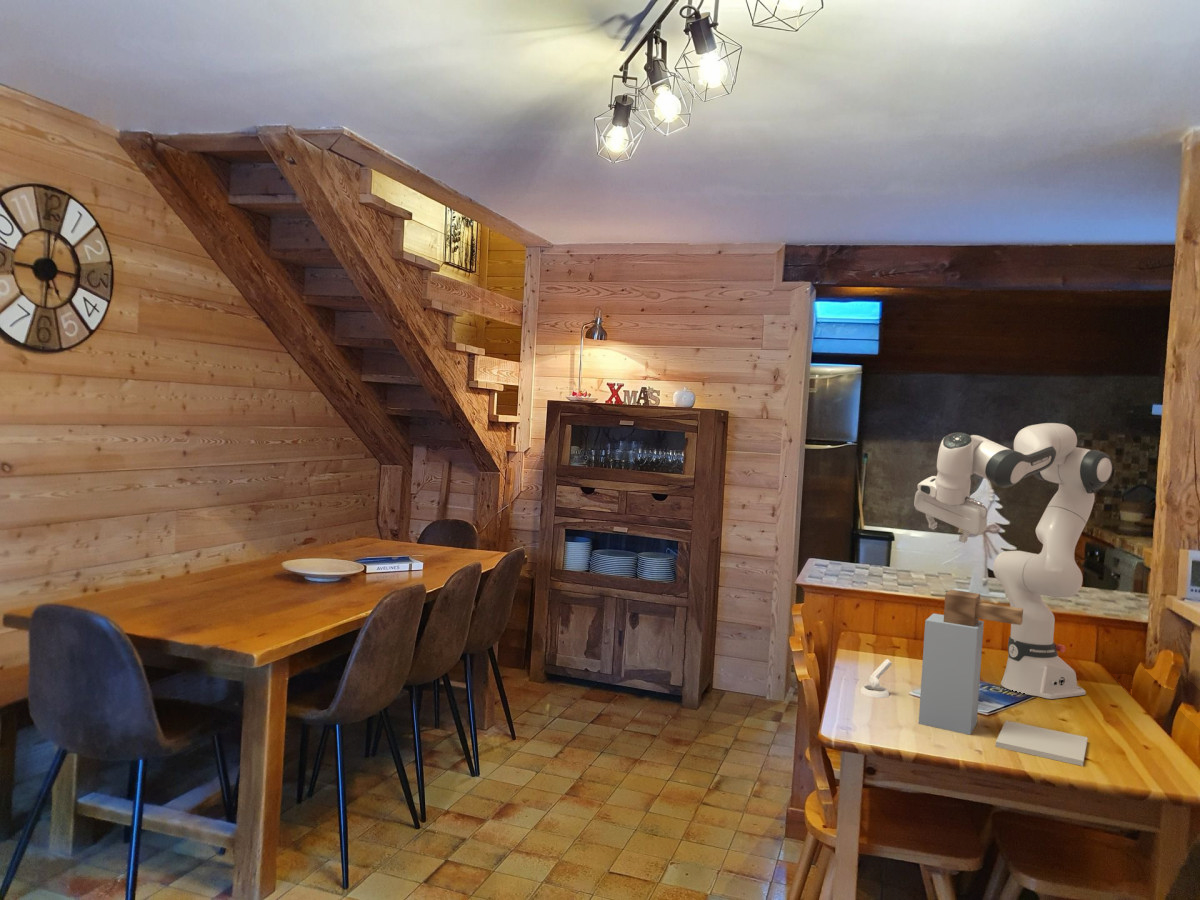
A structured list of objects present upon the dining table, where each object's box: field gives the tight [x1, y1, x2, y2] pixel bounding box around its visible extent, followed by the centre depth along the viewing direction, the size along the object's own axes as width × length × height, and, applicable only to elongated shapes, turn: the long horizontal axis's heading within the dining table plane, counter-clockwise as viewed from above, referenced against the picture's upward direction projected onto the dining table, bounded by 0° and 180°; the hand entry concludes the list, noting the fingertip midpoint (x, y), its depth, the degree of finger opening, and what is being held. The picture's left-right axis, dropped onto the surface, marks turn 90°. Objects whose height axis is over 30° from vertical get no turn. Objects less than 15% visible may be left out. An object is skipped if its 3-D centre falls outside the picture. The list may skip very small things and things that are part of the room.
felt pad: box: [995, 720, 1089, 767], centre depth 208 cm, size 18×18×1 cm
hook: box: [860, 658, 892, 699], centre depth 240 cm, size 8×12×7 cm
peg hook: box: [943, 589, 1023, 627], centre depth 215 cm, size 17×7×7 cm, turn 58°
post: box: [918, 612, 985, 736], centre depth 219 cm, size 12×10×26 cm
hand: (947, 534), depth 242 cm, fingers open, 8 cm apart
